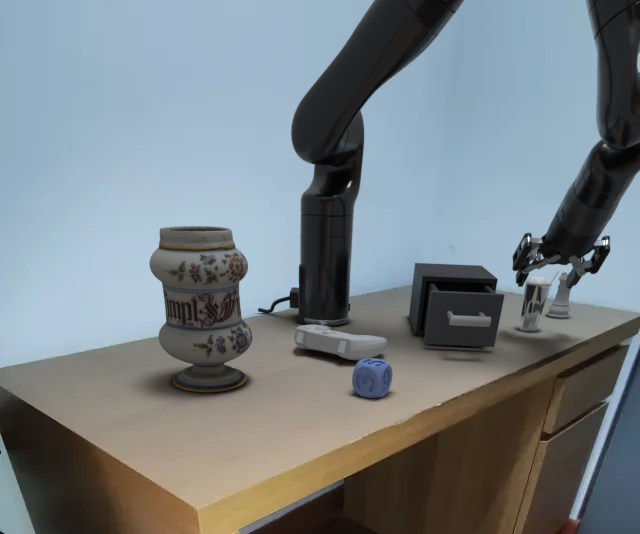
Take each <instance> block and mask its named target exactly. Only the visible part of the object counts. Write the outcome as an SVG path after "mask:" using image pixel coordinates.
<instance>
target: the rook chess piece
mask: <svg viewBox="0 0 640 534" xmlns="http://www.w3.org/2000/svg"><path fill="white" fill-rule="evenodd" d="M568 275H569V273H567V271H566V272H565V271H564V272H561V274H560V276H559V277H558V281H559V284H558V285H557V292H556V294H555V297H554V299H553V301H551V304H550V305H549V306H548V308H547V309H548V311H547V312H546V315H547V316H548V317H549V318H552V319H560V320H561V319H567V318H569V316H570V314H569V312H570V311H571V307H570V295H571V291H572V289H573V287H572V288H571V289H567V288H566V279H567V277H568Z"/></svg>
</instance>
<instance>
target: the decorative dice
mask: <svg viewBox="0 0 640 534" xmlns="http://www.w3.org/2000/svg"><path fill="white" fill-rule="evenodd" d="M392 382H393V368H392V366H391V364H390V363H389V362H388V361H387V360H385V359H382V358H375V357H373V358H366V359H361V360H358V361H357V362H356V364H355V366H354V369H353V372H352V376H351V385H352V388H353V390H354V392H355V393H356V394H357V395H358V396H360V397H363V398H367V399H368V398H369V399H378V398H383V397H385V396H386V395H387V394H388V392H389V390H390V388H391V385H392Z"/></svg>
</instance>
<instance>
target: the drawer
mask: <svg viewBox="0 0 640 534" xmlns="http://www.w3.org/2000/svg"><path fill="white" fill-rule="evenodd" d="M504 301H505V294H504V293H497V292H496V291H493V290H492V289H491V288H490V287H489V286H488V285H487V284H482V283H458V282H435V281H427V283H426V291H425V299H424V307H423V315H422V322H421V323H422V326H423V328H424V331H425V336H423V337H424V338H423V343H424V345H441V346H443V345H444V346H463V347H465V346H466V347H483V348H484V347H486V348H494V347H495V345H496V340H497V336H498V330H499V325H500V321H501V315H502V310H503V305H504Z"/></svg>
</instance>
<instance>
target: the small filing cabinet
mask: <svg viewBox="0 0 640 534" xmlns="http://www.w3.org/2000/svg"><path fill="white" fill-rule="evenodd" d="M427 281H435V282H458V283H482V284H487V285H488V286H489V287H490V288H491V289H492V290H493V291H495V292H496V291H497V287H498V286H497V285H498V281H499V280H498V278H497V277H496V276H495V275H494V274H493V273H491V272H490V271H489V270H487V269H486V268H485V267H484V266H483V265H475V264H453V263H451V264H449V263H426V262H425V263H424V262H415V263H414V269H413V278H412V286H411V295H410V303H409V310H408V311H409V312H408V318H409V321H410V324H411V327H412V331H413V333H414V336H415V337H425V331H424V328H423V326H422V323H421V322H422V315H423V307H424V299H425V291H426V283H427Z"/></svg>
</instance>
